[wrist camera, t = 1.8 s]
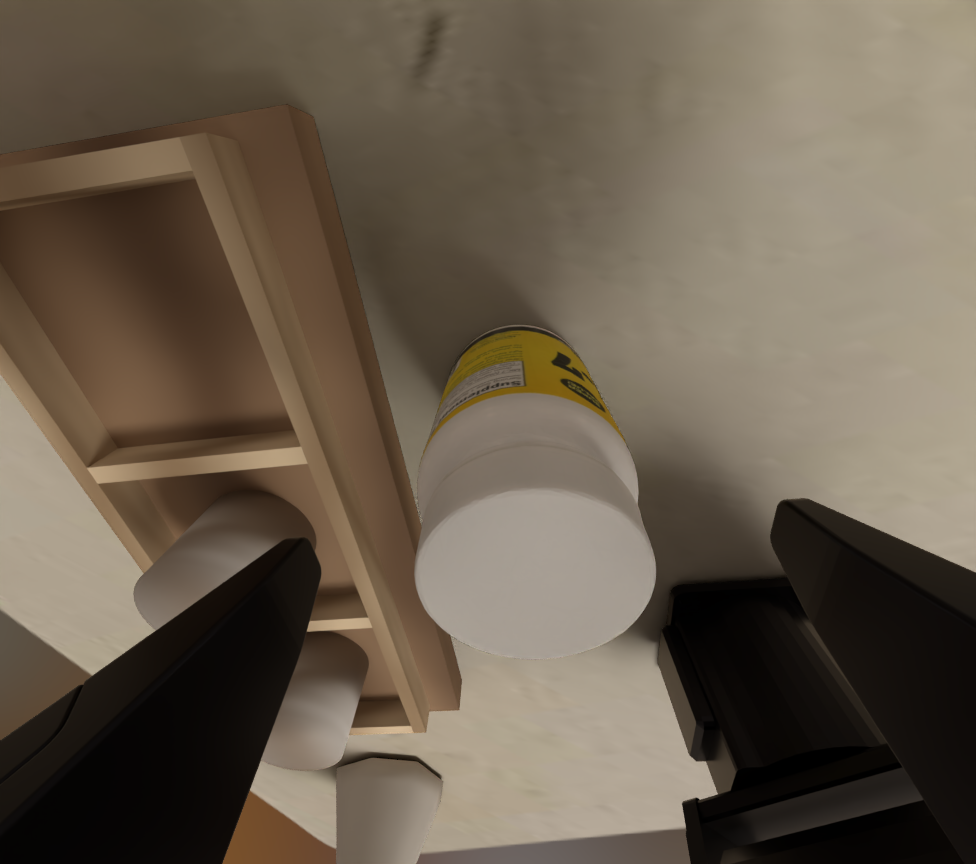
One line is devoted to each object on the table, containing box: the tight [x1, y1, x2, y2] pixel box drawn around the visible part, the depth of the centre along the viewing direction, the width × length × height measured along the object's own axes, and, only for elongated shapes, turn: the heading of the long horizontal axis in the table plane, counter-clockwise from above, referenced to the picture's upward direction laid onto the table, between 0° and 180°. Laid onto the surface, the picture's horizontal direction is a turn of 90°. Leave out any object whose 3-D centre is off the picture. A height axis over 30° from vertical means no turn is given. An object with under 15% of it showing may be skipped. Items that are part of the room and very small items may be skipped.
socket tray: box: [0, 104, 462, 771], centre depth 15 cm, size 11×24×5 cm, turn 7°
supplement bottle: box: [414, 325, 656, 660], centre depth 10 cm, size 5×5×8 cm
